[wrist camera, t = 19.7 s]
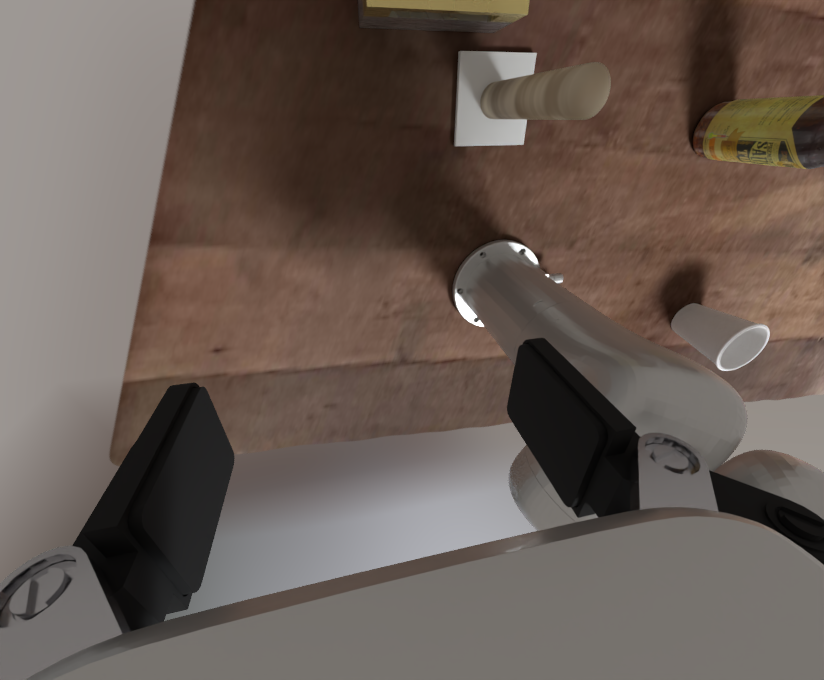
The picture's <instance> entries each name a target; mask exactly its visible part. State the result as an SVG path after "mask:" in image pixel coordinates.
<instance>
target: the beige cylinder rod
mask: <svg viewBox="0 0 824 680" xmlns="http://www.w3.org/2000/svg"><path fill="white" fill-rule="evenodd" d="M610 87H611V78H610V73H609V71H608V69H607V68H606V66H605V65H604V64H602V63H599V62H592V63H587V64H582V65H577V66H572V67H567V68H562V69H557V70H552V71H547V72H542V73H537V74H532V75H527V76H522V77H517V78H512V79H507V80H502V81H497V82H493V83H491V84H489V85H488V86H487V87H486V88H485V89H484V91H483V93H482V96H481V102H480V104H481V110H482V112H483V114H484V115H485V116H486V117H487V118H489V119H546V120H585V119H589V118H591V117H593V116H595V115H596V114H597V113H598V112H599V111H600V110H601V109H602V107H603V106H604V104H605V103H606V100H607V98H608V96H609V92H610Z"/></svg>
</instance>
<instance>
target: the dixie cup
mask: <svg viewBox="0 0 824 680" xmlns="http://www.w3.org/2000/svg"><path fill="white" fill-rule="evenodd" d="M671 328H672V330H673V331H674V332H676V333H677V334H678V335H679V336H681V337H682V338H683V339H684V340H686V341H687V342H688V343H689V344H691V345H692V346H693V347H694V348H696V349H697V350H698V351H700V352H701V353H702V354H703V355H705V356H706V357H707V358H708V359H710V360H711V361H712V362H713V363H715V364H716V366H717V367H718V368H719V369H720V370H723V371H730V370H734V369H737V368H740V367H742V366H744V365H745V364H747V363H749V362H750V361H751V360H753V359H754V358H755V357H756V356H757V355H758V354H759V353H760V352H761V351H762V350H763V348H764V347H765V345H766V344H767V342H768V340H769V336H770V331H769V328H768V327H767V326H766V325H764V324H757V323H754V322H751V321H748V320H745V319H742V318H739V317H736V316H733V315H730V314H727V313H724V312H721V311H718V310H715V309H712V308H709V307H706V306H703V305H700V304H696V303H693V304H689V305H687V306H685V307H683V308H682V309H681V310H679V311H678V312H677V314H676V315H675V316H674V318H673V320H672V322H671Z"/></svg>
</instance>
